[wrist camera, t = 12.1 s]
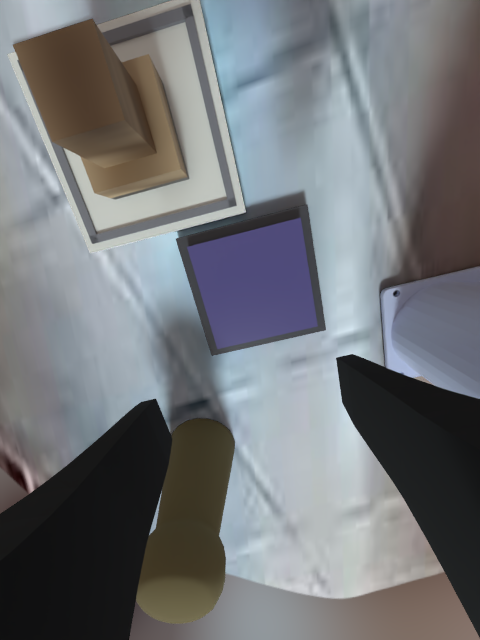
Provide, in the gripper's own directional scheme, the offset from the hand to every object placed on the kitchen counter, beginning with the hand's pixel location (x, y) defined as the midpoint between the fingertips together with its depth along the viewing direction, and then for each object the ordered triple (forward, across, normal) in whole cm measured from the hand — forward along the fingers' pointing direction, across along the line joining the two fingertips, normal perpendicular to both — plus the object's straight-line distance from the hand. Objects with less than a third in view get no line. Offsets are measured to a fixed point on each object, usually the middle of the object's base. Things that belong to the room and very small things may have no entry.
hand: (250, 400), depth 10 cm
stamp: (+10, +4, -13) cm, 16 cm away
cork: (+11, +6, +11) cm, 17 cm away
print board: (+10, +4, -13) cm, 17 cm away
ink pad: (+10, -2, -2) cm, 11 cm away
